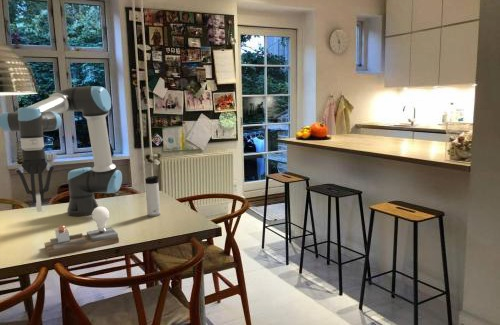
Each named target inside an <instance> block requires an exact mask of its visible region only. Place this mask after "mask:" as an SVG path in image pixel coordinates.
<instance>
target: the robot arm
mask: <svg viewBox="0 0 500 325" xmlns="http://www.w3.org/2000/svg"><path fill="white" fill-rule="evenodd" d="M111 108H112V98H111V94H110V93H109V92H108V90H107V89H106V87H103V86H95V85H93V86H92V85H91V86H89V85H88V86H72V87H67V88H65V89H61V90H59V91H57V92H54V93H52V94H50V96H49V97H48V98H45V99H43V100H41V101H38V102H36V103H34V104H31V105H28V106H26V107H19V108H18V109H17V110H15V111H12V112H10V111H7V112H2V113H0V129H1V130H2V131H4V132H11V133H14V132H19V134H20V136H19V138H20V147H21V149H22V150H21V157H22V158H21V159H22V162H21V166H19V167H18V168H16V169H15V172H16V173H17V175H19V178H20V180H21V182H22V183H21V184H22V185H23V187H24V190H25V193H26V194H27V195H31V201H32V203H33V204H35V208H36V211H37V213H38V212H43V208H42V203H44V202H45V193H46V192H48V191H49V190H50V189H49V188H50V183H51V177H52V172H53V171H54V169H55V166H53V165H52V164H51V165H50V164H49V163H48V162H47V160H46V151H45V149H44V148H45V143H44V132H52V131H56V130H58V129H60V127H61V126H62V123H63V122H62V117H61V115H60V114H64V113H66V112H82V113H81V114H82V117H83V118H84V119H86V123H87V128H88V134H89V140H90V145H91V147H90V148H91V152H92V157H93V158H92V159H93V167H90V166H87V167H85V166H84V167H80V168H75V169H72V170H69V171H68V173H67V182H68V191H69V202H68V207H67V210H66V211H67V215H68V216H72V217H82V216H85V217H86V216H89V215H90V216H91V215H92V212H93V210H94V209H95V208H97V207H99V205H98V202H97V200H96V198H95V194H115V193H117V192H118V191H119V190H120V188H121V187H122V184H123V183H122V182H123V174H122V172H121V170H119V169H117V165H116V164H115V163H113V158H112V152H111V146H110V140H109V132H108V126H107V119H106V117H107V116H108V114H109V112H108V111H110V110H111ZM45 170H46V176H45V181H44V182H45V183H44V182H43V174H42V173H43V172H44V171H45ZM25 171H26V173H28V175H29V182H30V187H29V186H28V183H27V179H26V178H25V175H24V174H23V173H24V172H25ZM36 174H37V184H38V185H37V186H38V193H37V192H36V180H35V175H36ZM43 183H44V184H43Z"/></svg>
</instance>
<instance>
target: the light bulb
mask: <svg viewBox="0 0 500 325" xmlns="http://www.w3.org/2000/svg"><path fill="white" fill-rule="evenodd" d="M91 217H92V219H93V221H94V222H95V223H96V227H97V230H98V231H99V232H104V231H105V230H106V229H105V228H106V226H107V221H108V219H109V217H110V212H109V209H107V207H105V206H102V205H101V206H98V207H97V208H95V209H94V210H93V212H92V214H91Z"/></svg>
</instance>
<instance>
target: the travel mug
mask: <svg viewBox="0 0 500 325" xmlns="http://www.w3.org/2000/svg"><path fill="white" fill-rule="evenodd" d="M159 177H160V176H159V175H153V176H148V177H145V183H144V184H145V196H146V197H145V198H146V211H147V212H146V216H148V217H149V216H150V217H151V218H153V217H159V216H160V215H161V205H160V204H161V202H160V189H159V188H160V186H159V185H160V184H159Z"/></svg>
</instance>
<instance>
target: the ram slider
mask: <svg viewBox="0 0 500 325" xmlns="http://www.w3.org/2000/svg"><path fill="white" fill-rule="evenodd" d="M57 228H58V229H55V230H54V232H55V238H56V242H57V244H61V243H66V242H70V238H69V236H70V231H69V230H68V228H67V227H66V225H64V224H62V225H58V226H57Z"/></svg>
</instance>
